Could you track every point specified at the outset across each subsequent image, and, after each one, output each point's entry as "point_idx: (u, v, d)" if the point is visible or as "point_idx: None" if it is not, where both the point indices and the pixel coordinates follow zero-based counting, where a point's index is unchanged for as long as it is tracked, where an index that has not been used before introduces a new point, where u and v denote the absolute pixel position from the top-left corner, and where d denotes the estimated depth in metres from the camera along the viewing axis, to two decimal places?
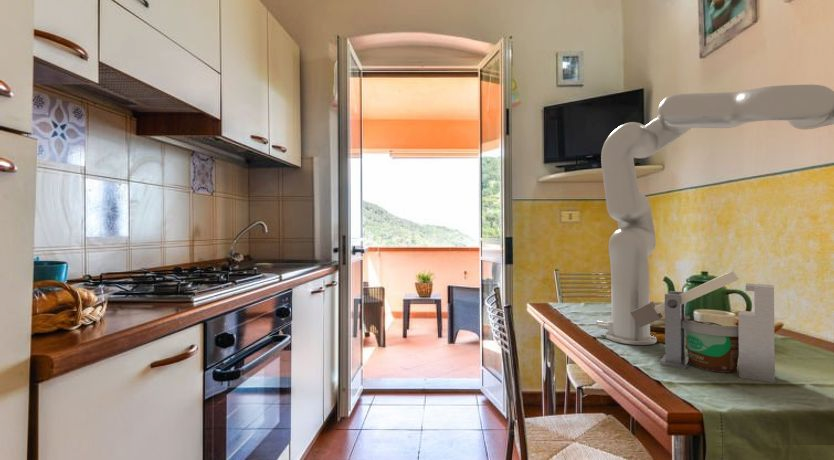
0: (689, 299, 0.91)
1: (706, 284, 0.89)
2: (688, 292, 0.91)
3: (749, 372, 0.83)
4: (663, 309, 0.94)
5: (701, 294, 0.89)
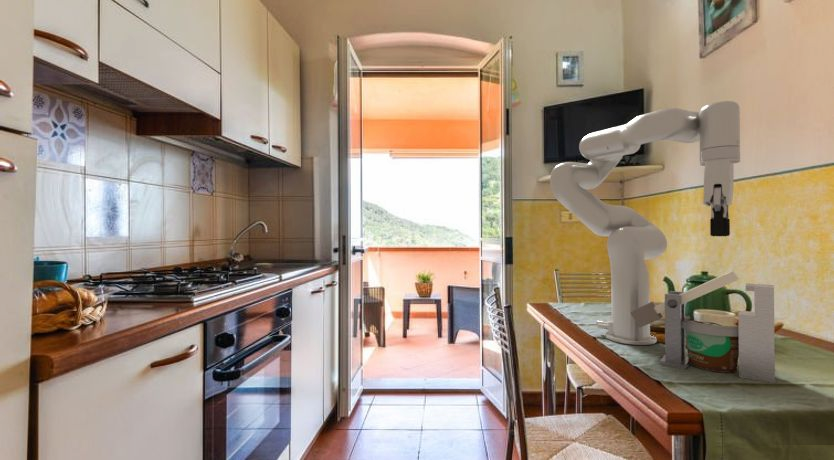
0: (689, 299, 0.91)
1: (706, 284, 0.89)
2: (688, 292, 0.91)
3: (749, 372, 0.83)
4: (663, 309, 0.94)
5: (701, 294, 0.89)
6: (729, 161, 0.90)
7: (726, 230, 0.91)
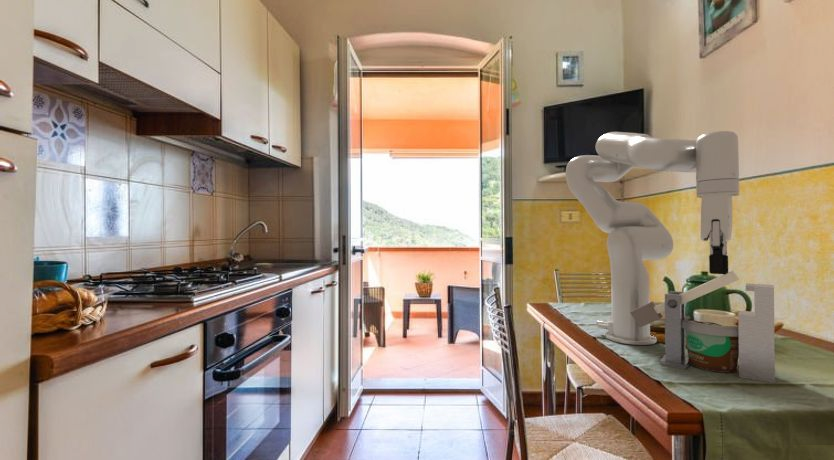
0: (689, 299, 0.91)
1: (706, 284, 0.89)
2: (688, 292, 0.91)
3: (749, 372, 0.83)
4: (663, 309, 0.94)
5: (701, 294, 0.89)
6: (727, 195, 0.85)
7: (726, 268, 0.87)
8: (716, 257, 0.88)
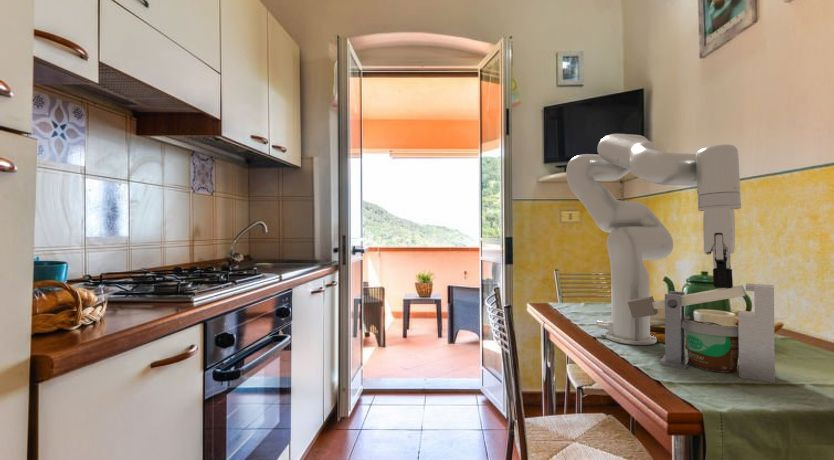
0: (690, 303, 0.91)
1: (712, 292, 0.88)
2: (691, 296, 0.90)
3: (749, 372, 0.83)
4: (661, 306, 0.95)
5: (704, 301, 0.89)
6: (729, 208, 0.84)
7: (730, 282, 0.86)
8: (720, 271, 0.87)
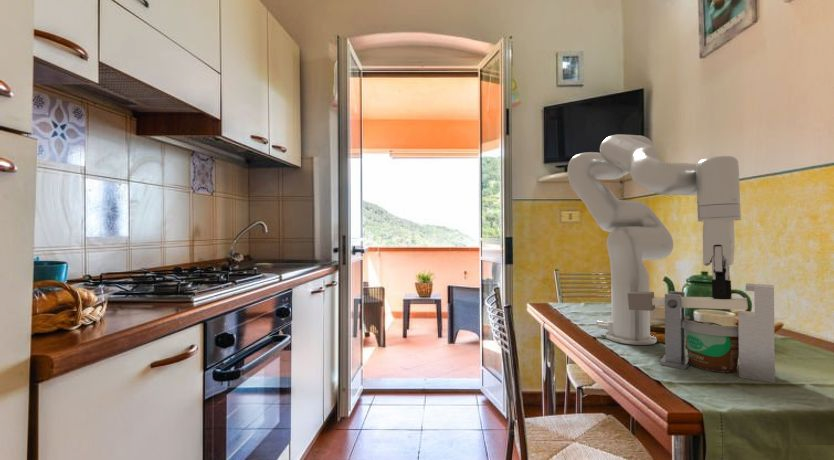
0: (690, 306, 0.91)
1: (714, 300, 0.88)
2: (693, 300, 0.90)
3: (749, 372, 0.83)
4: (660, 304, 0.95)
5: (704, 307, 0.89)
6: (729, 220, 0.84)
7: (729, 293, 0.86)
8: (719, 282, 0.87)
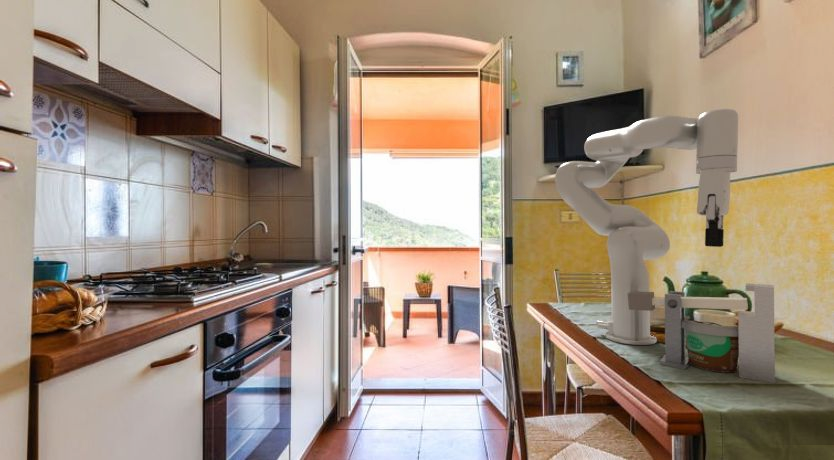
0: (690, 306, 0.91)
1: (714, 300, 0.88)
2: (693, 300, 0.90)
3: (749, 372, 0.83)
4: (660, 304, 0.95)
5: (704, 307, 0.89)
6: (724, 171, 0.89)
7: (720, 241, 0.92)
8: (712, 230, 0.92)
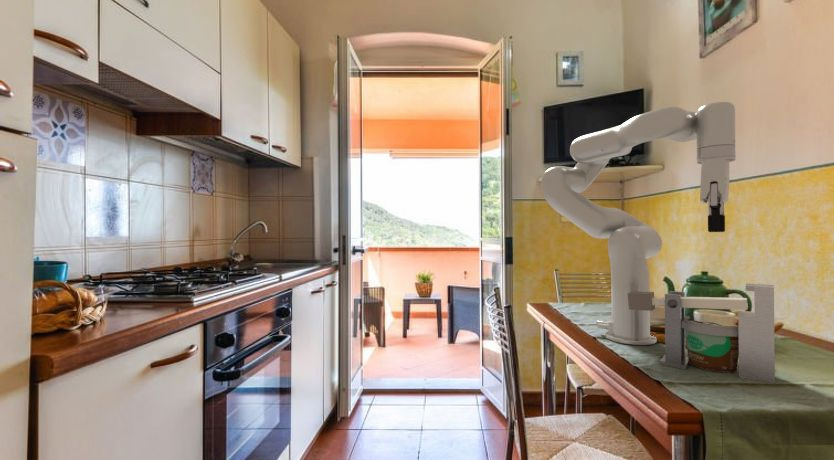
0: (690, 306, 0.91)
1: (714, 300, 0.88)
2: (693, 300, 0.90)
3: (749, 372, 0.83)
4: (660, 304, 0.95)
5: (704, 307, 0.89)
6: (725, 159, 0.94)
7: (723, 226, 0.96)
8: (714, 216, 0.97)
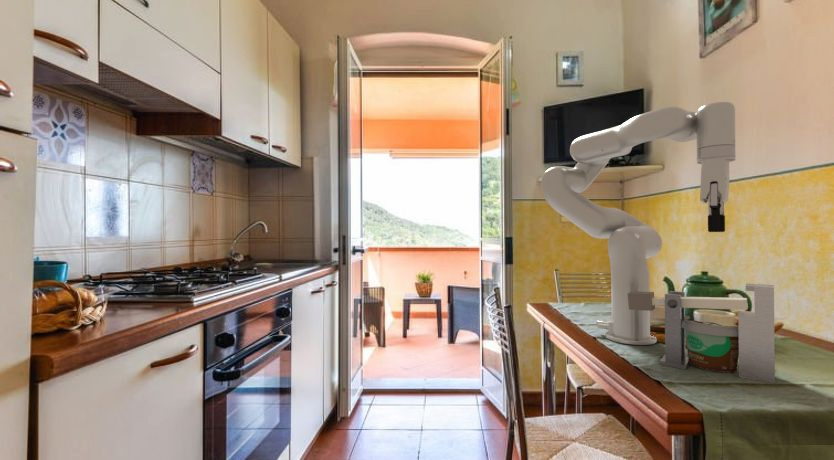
0: (690, 306, 0.91)
1: (714, 300, 0.88)
2: (693, 300, 0.90)
3: (749, 372, 0.83)
4: (660, 304, 0.95)
5: (704, 307, 0.89)
6: (725, 159, 0.94)
7: (723, 226, 0.96)
8: (714, 216, 0.97)
